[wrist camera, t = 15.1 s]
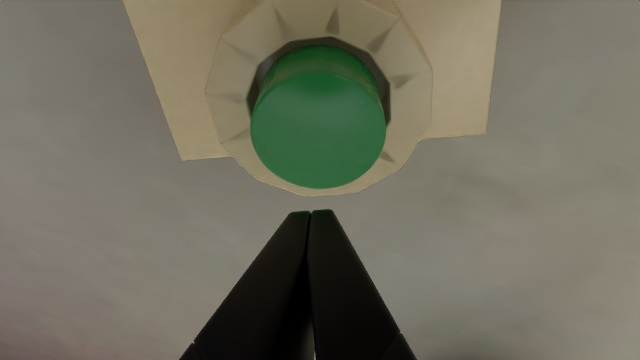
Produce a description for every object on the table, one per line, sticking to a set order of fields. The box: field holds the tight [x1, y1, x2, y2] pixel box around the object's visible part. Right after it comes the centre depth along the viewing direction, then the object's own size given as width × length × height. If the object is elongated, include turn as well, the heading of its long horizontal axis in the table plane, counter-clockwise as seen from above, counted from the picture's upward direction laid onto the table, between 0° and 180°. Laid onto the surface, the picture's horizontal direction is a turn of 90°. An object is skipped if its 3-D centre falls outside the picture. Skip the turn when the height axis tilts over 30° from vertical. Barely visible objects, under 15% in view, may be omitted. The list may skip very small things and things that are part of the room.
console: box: [123, 0, 502, 197], centre depth 13 cm, size 11×11×4 cm
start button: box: [250, 45, 386, 189], centre depth 12 cm, size 4×4×2 cm
